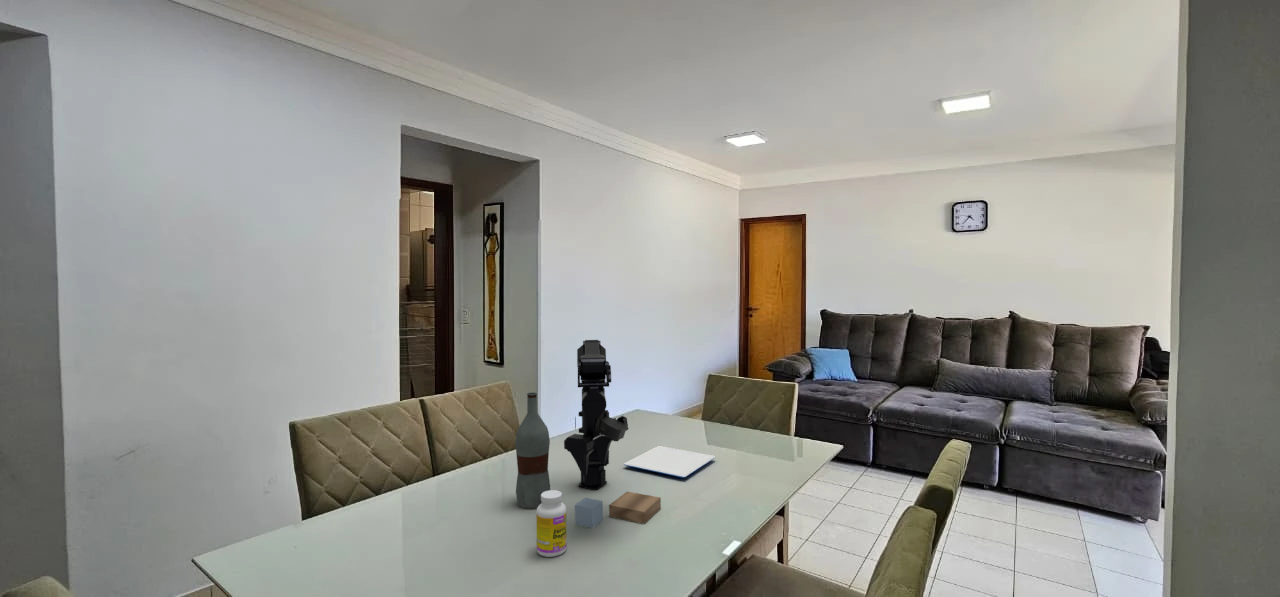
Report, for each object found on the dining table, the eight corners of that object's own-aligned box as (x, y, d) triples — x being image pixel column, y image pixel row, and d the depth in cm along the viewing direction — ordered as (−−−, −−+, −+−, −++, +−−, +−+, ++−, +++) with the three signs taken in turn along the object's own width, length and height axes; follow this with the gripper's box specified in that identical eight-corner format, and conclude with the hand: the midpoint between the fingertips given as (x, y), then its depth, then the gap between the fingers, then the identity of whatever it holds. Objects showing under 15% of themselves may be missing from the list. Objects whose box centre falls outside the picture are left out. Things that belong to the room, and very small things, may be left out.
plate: (716, 461, 183) (716, 455, 183) (684, 483, 164) (684, 476, 164) (658, 451, 195) (658, 445, 195) (622, 469, 176) (622, 463, 176)
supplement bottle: (553, 561, 118) (552, 502, 118) (530, 553, 122) (529, 496, 121) (572, 548, 124) (572, 492, 123) (550, 541, 127) (549, 486, 127)
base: (609, 516, 140) (609, 505, 140) (627, 502, 149) (626, 491, 149) (644, 523, 136) (644, 511, 136) (660, 508, 145) (660, 497, 145)
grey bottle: (534, 493, 156) (532, 388, 155) (557, 500, 151) (556, 392, 150) (508, 504, 148) (507, 394, 147) (532, 512, 143) (531, 398, 142)
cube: (575, 524, 136) (574, 504, 136) (585, 517, 141) (585, 497, 140) (592, 528, 134) (592, 508, 134) (602, 520, 138) (602, 501, 138)
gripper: (604, 418, 125) (604, 486, 125) (638, 402, 142) (638, 462, 142) (562, 414, 130) (563, 479, 130) (600, 398, 147) (600, 456, 147)
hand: (593, 469), depth 137 cm, fingers open, 9 cm apart
